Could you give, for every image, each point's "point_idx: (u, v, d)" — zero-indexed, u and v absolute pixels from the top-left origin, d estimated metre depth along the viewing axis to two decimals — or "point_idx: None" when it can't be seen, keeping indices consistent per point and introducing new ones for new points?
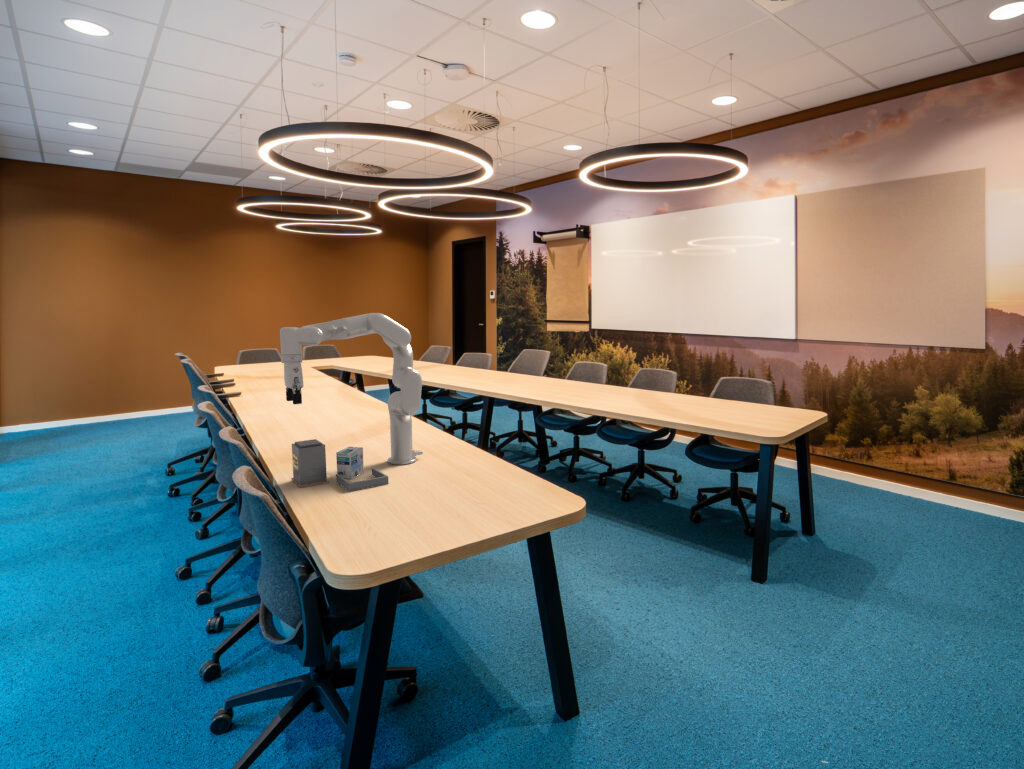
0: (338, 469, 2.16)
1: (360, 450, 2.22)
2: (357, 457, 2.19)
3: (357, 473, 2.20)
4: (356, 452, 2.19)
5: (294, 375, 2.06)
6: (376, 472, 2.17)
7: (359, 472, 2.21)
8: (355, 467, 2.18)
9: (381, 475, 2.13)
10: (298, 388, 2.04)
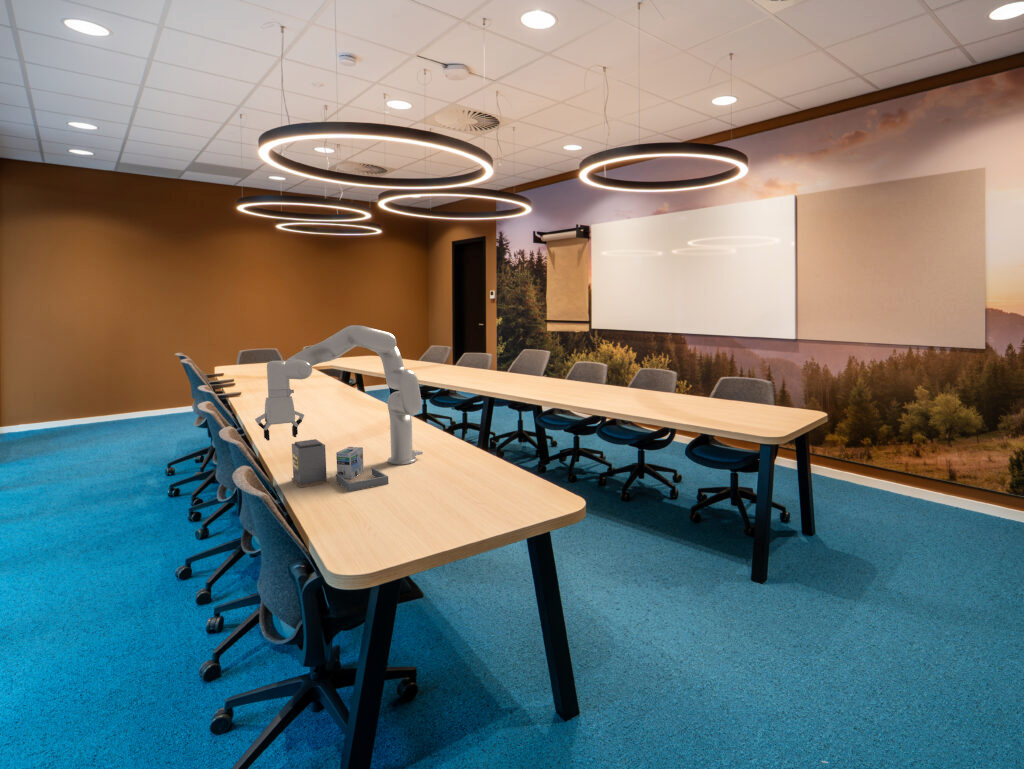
0: (338, 469, 2.16)
1: (360, 450, 2.22)
2: (357, 457, 2.19)
3: (357, 473, 2.20)
4: (356, 452, 2.19)
5: None
6: (376, 472, 2.17)
7: (359, 472, 2.21)
8: (355, 467, 2.18)
9: (381, 475, 2.13)
10: None
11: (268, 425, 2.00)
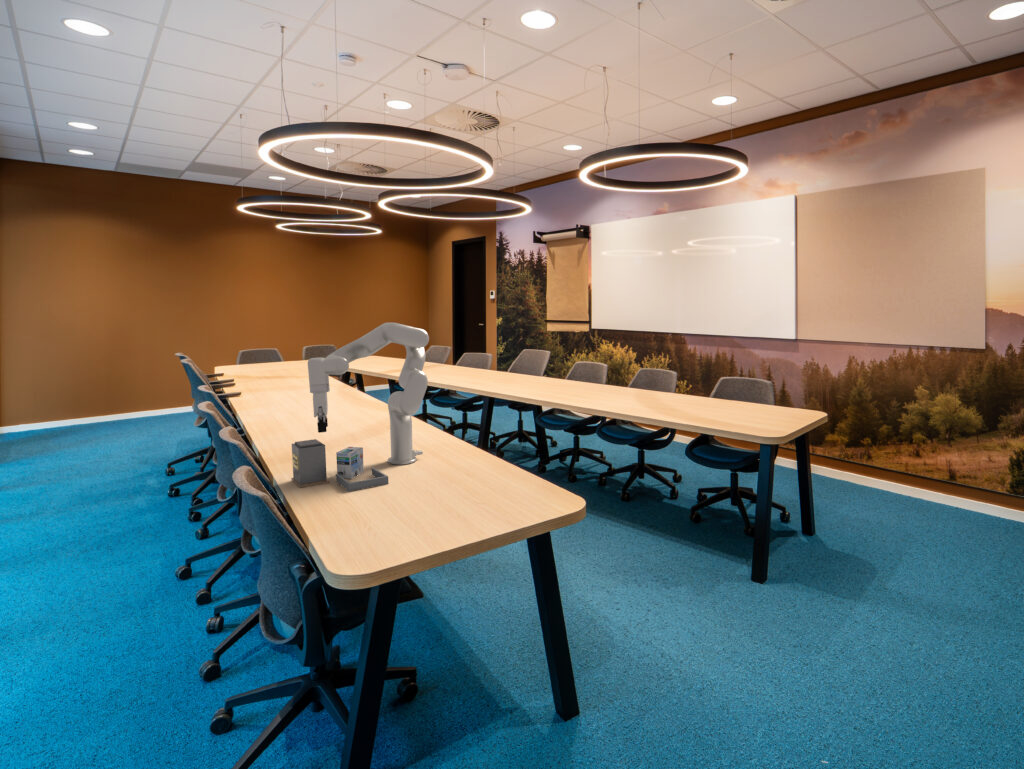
0: (338, 469, 2.16)
1: (360, 450, 2.22)
2: (357, 457, 2.19)
3: (357, 473, 2.20)
4: (356, 452, 2.19)
5: None
6: (376, 472, 2.17)
7: (359, 472, 2.21)
8: (355, 467, 2.18)
9: (381, 475, 2.13)
10: None
11: (324, 417, 2.15)
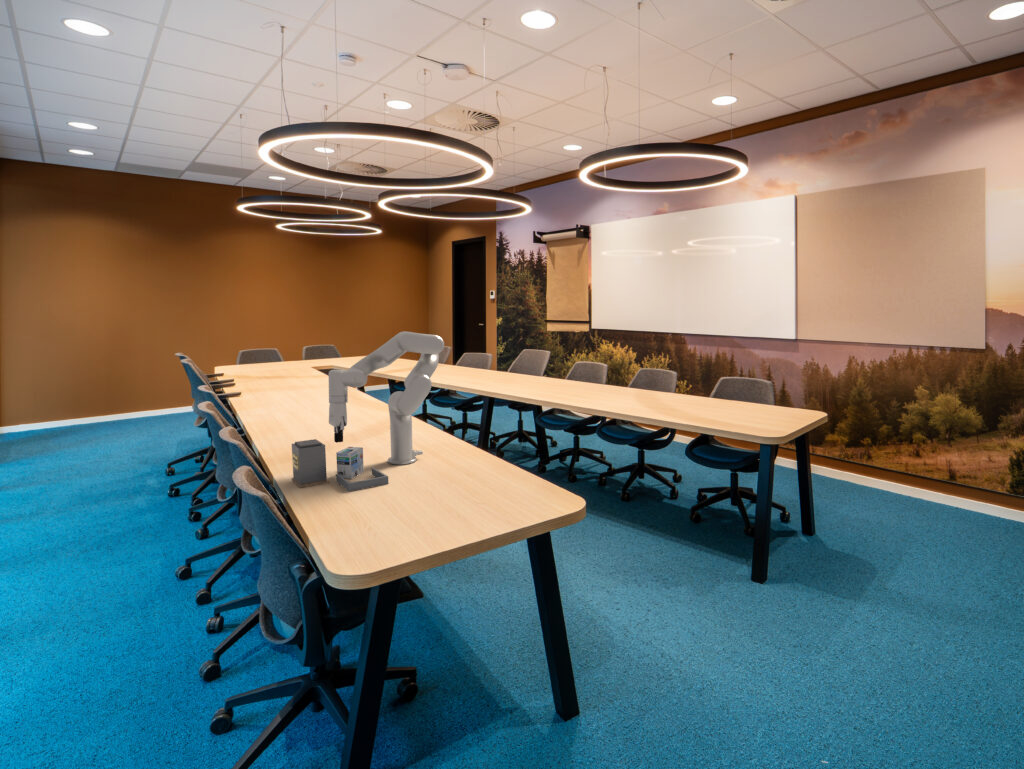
0: (338, 469, 2.16)
1: (360, 450, 2.22)
2: (357, 457, 2.19)
3: (357, 473, 2.20)
4: (356, 452, 2.19)
5: None
6: (376, 472, 2.17)
7: (359, 472, 2.21)
8: (355, 467, 2.18)
9: (381, 475, 2.13)
10: None
11: None
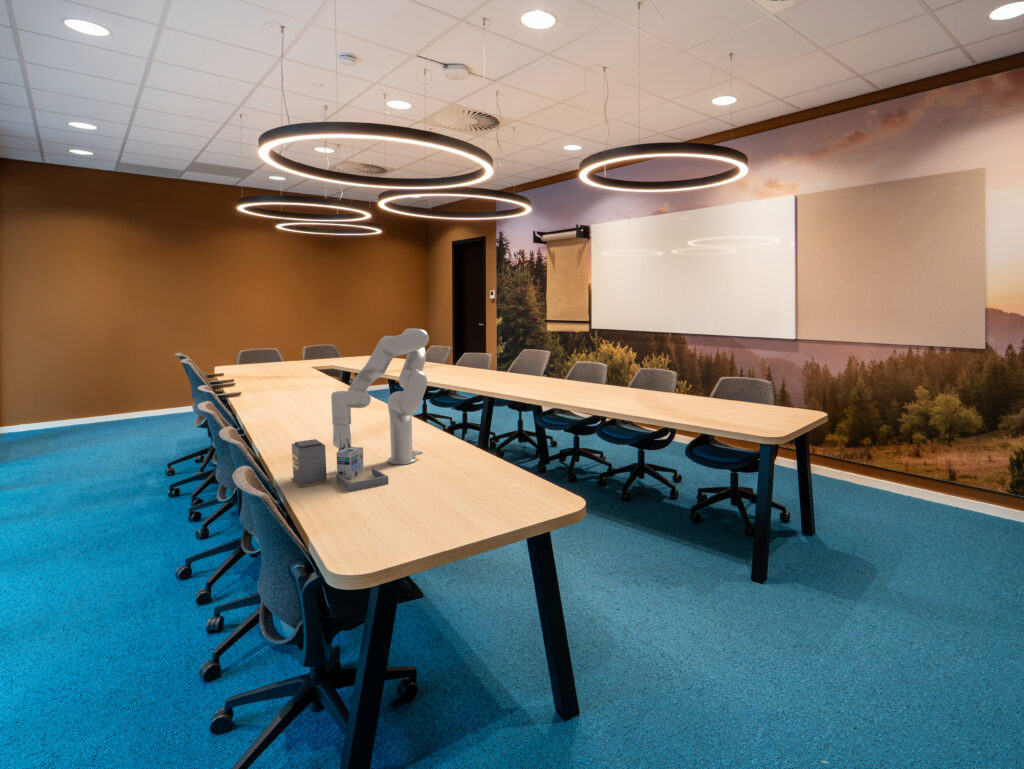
0: (338, 469, 2.16)
1: (360, 450, 2.22)
2: (357, 457, 2.19)
3: (357, 473, 2.20)
4: (356, 452, 2.19)
5: None
6: (376, 472, 2.17)
7: (359, 472, 2.21)
8: (355, 467, 2.18)
9: (381, 475, 2.13)
10: None
11: None
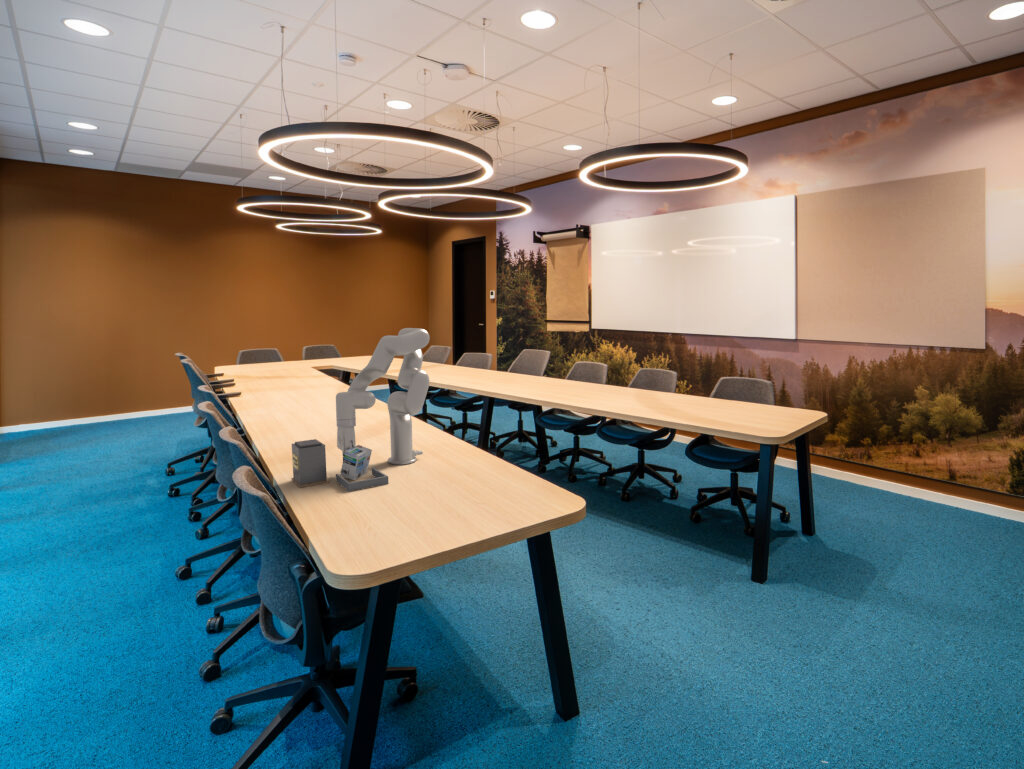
0: (343, 467, 2.14)
1: (369, 452, 2.19)
2: (364, 459, 2.17)
3: (360, 475, 2.18)
4: (364, 454, 2.16)
5: None
6: (376, 472, 2.17)
7: (362, 473, 2.19)
8: (360, 469, 2.16)
9: (381, 475, 2.13)
10: None
11: None
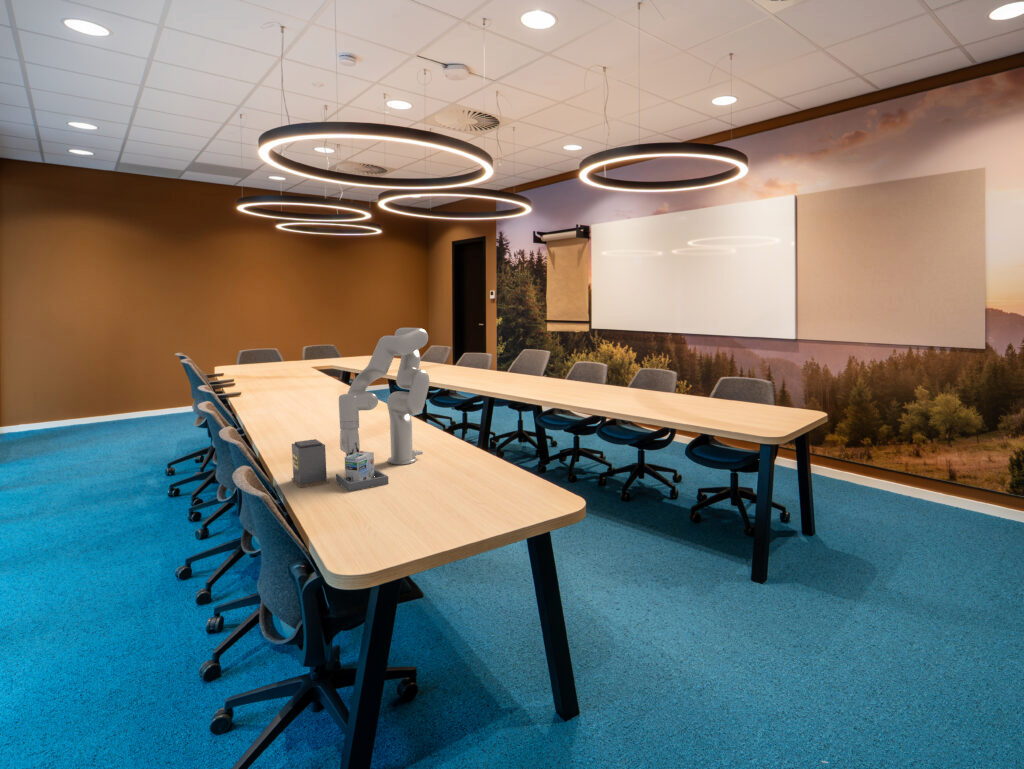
0: (346, 474, 2.09)
1: (370, 455, 2.14)
2: (366, 462, 2.11)
3: (366, 479, 2.12)
4: (365, 457, 2.11)
5: None
6: (376, 472, 2.17)
7: (369, 478, 2.13)
8: (364, 473, 2.10)
9: (381, 475, 2.13)
10: None
11: None
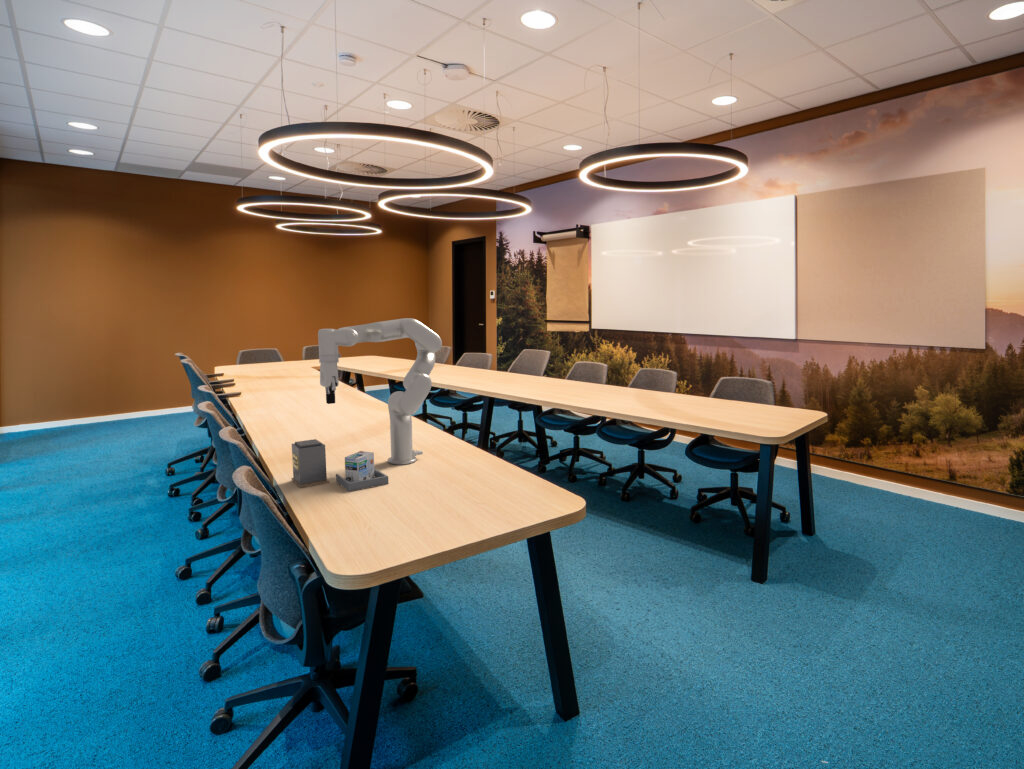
0: (346, 474, 2.09)
1: (370, 455, 2.14)
2: (366, 462, 2.11)
3: (366, 479, 2.12)
4: (365, 457, 2.11)
5: None
6: (376, 472, 2.17)
7: (369, 478, 2.13)
8: (364, 473, 2.10)
9: (381, 475, 2.13)
10: None
11: None
